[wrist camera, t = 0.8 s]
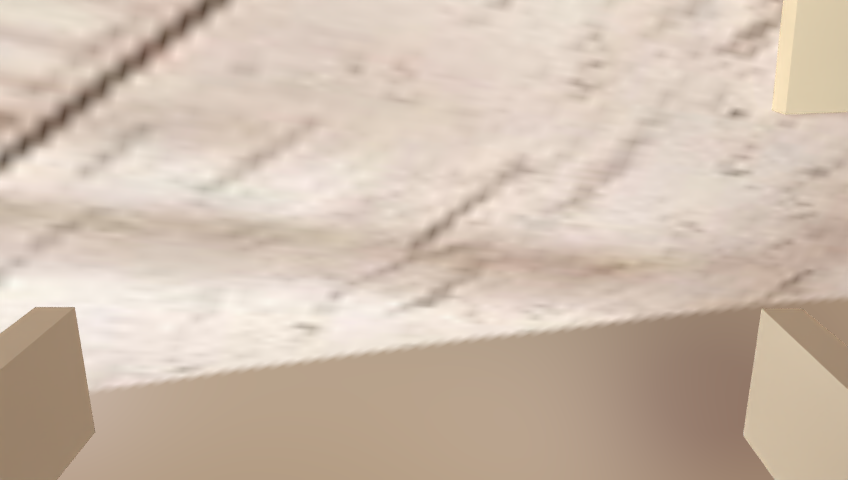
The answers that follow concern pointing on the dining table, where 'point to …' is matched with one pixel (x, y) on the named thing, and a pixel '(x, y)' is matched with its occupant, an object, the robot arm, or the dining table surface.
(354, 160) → the dining table surface
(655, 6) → the dining table surface
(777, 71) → the hole board
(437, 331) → the dining table surface
